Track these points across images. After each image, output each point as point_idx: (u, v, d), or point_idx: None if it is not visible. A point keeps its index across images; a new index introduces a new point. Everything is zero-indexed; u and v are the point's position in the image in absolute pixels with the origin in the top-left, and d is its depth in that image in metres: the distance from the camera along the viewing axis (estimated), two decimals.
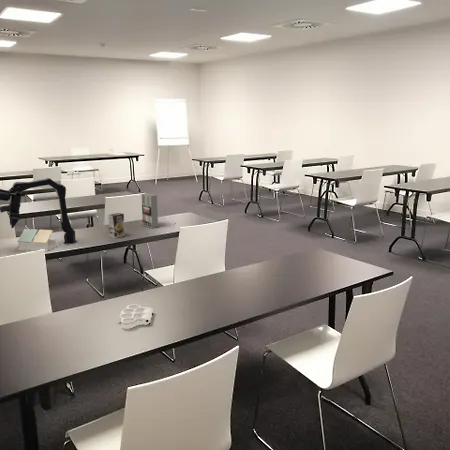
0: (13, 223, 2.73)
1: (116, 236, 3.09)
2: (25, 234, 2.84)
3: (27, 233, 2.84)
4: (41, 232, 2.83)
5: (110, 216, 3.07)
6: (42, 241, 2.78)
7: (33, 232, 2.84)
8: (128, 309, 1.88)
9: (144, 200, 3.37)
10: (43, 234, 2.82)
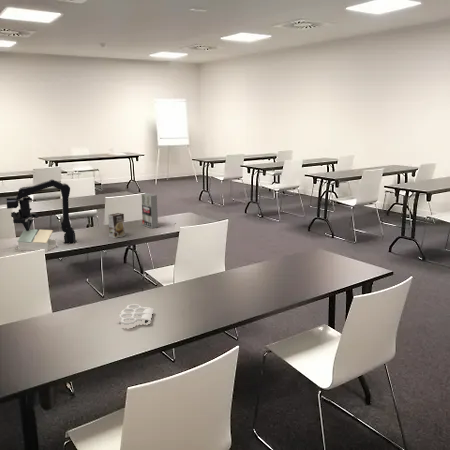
0: (25, 226, 2.84)
1: (116, 236, 3.09)
2: (26, 234, 2.84)
3: (27, 233, 2.84)
4: (41, 232, 2.83)
5: (110, 216, 3.07)
6: (42, 241, 2.78)
7: (33, 232, 2.84)
8: (128, 309, 1.88)
9: (144, 200, 3.37)
10: (43, 234, 2.82)
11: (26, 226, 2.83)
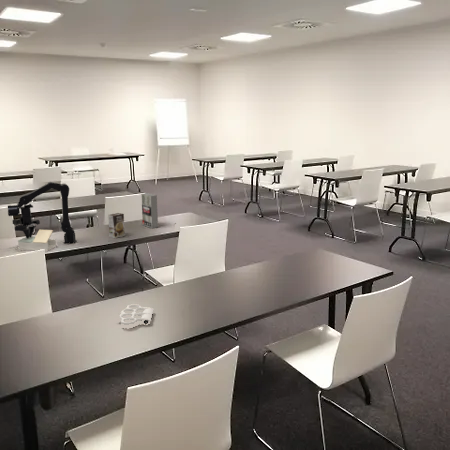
0: (26, 234, 2.84)
1: (116, 236, 3.09)
2: (28, 238, 2.86)
3: (29, 238, 2.86)
4: (41, 232, 2.83)
5: (110, 216, 3.07)
6: (42, 241, 2.78)
7: None
8: (128, 309, 1.88)
9: (144, 200, 3.37)
10: (43, 234, 2.82)
11: (26, 234, 2.84)
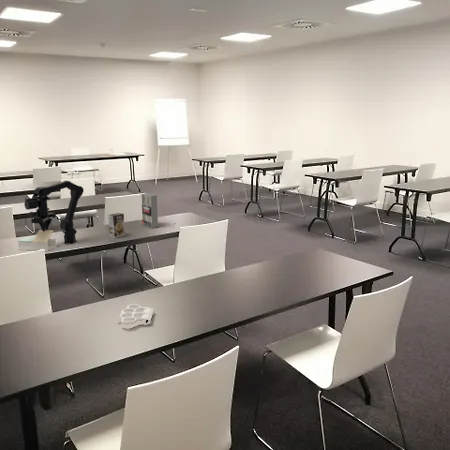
0: (42, 227, 2.80)
1: (116, 236, 3.09)
2: (28, 238, 2.86)
3: (29, 238, 2.87)
4: (41, 232, 2.83)
5: (110, 216, 3.07)
6: (42, 241, 2.78)
7: None
8: (128, 309, 1.88)
9: (144, 200, 3.37)
10: (43, 234, 2.82)
11: (43, 226, 2.80)
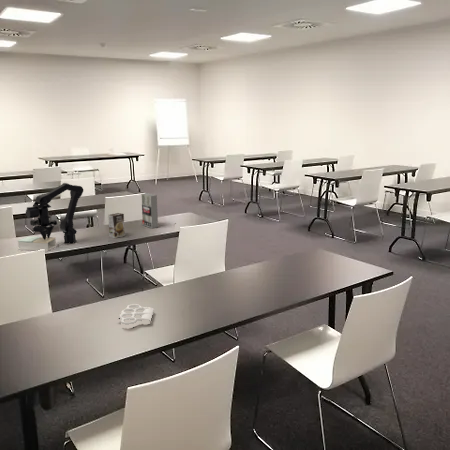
0: (43, 235, 2.82)
1: (116, 236, 3.09)
2: (28, 238, 2.86)
3: (29, 238, 2.87)
4: None
5: (110, 216, 3.07)
6: (43, 241, 2.79)
7: (35, 238, 2.87)
8: (128, 309, 1.88)
9: (144, 200, 3.37)
10: None
11: (43, 235, 2.81)
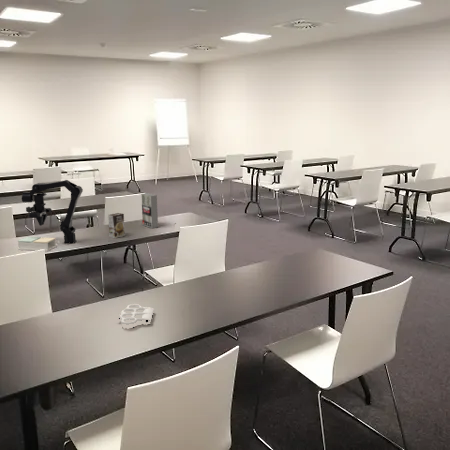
0: (39, 221, 2.92)
1: (116, 236, 3.09)
2: (28, 238, 2.86)
3: (29, 238, 2.87)
4: (43, 238, 2.86)
5: (110, 216, 3.07)
6: (43, 241, 2.79)
7: (35, 238, 2.87)
8: (128, 309, 1.88)
9: (144, 200, 3.37)
10: (45, 239, 2.84)
11: (40, 221, 2.92)
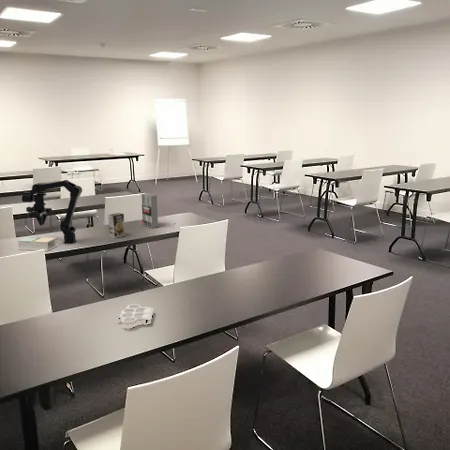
0: (39, 221, 2.93)
1: (116, 236, 3.09)
2: (28, 238, 2.86)
3: (29, 238, 2.87)
4: (43, 238, 2.86)
5: (110, 216, 3.07)
6: (43, 241, 2.79)
7: (35, 238, 2.87)
8: (128, 309, 1.88)
9: (144, 200, 3.37)
10: (45, 239, 2.84)
11: (40, 221, 2.93)
